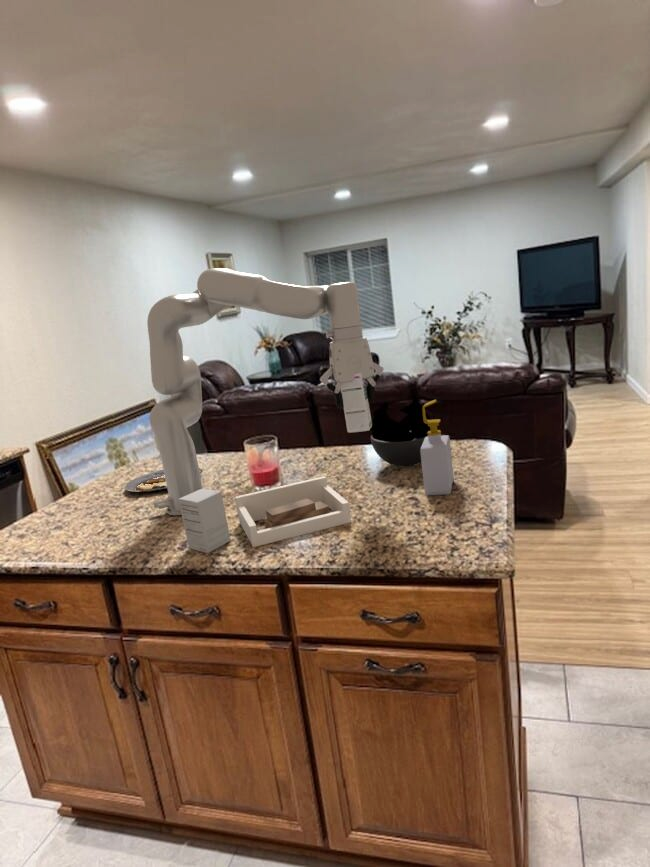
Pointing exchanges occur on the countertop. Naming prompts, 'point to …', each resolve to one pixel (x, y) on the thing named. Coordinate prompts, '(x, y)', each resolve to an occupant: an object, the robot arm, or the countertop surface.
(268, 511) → the offcut pile
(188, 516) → the supplement box
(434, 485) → the soap bottle
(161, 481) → the food plate
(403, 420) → the coal bowl
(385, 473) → the countertop surface
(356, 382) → the syrup box
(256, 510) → the tray
